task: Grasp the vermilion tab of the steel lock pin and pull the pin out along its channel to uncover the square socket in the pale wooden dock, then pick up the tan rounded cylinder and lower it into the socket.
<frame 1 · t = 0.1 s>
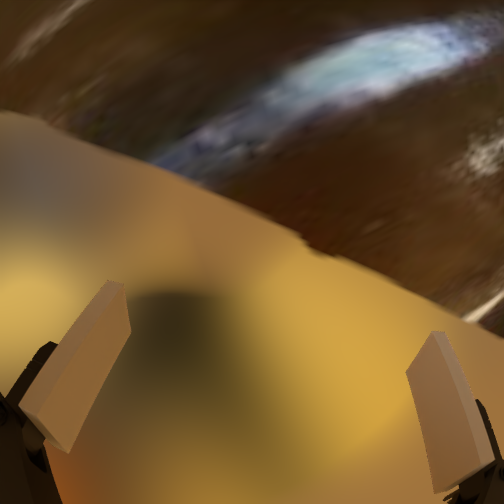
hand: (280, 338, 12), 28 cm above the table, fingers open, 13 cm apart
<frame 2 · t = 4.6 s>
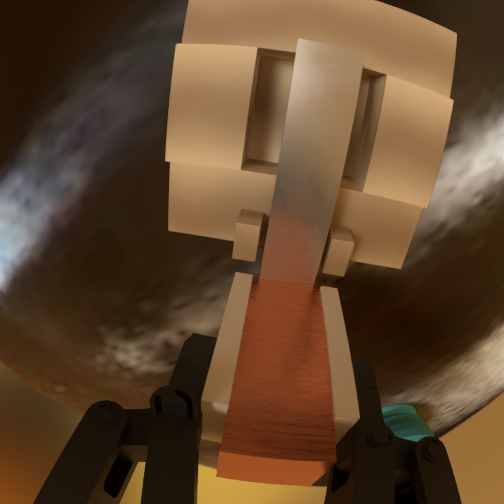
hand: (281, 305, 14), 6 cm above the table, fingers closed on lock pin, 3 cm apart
lock pin: (310, 239, 9), point 9 cm above the table, slide at 0.0 cm, touching gripper
dock: (308, 115, 15), on the table
perfume bottle: (388, 418, 27), on the table
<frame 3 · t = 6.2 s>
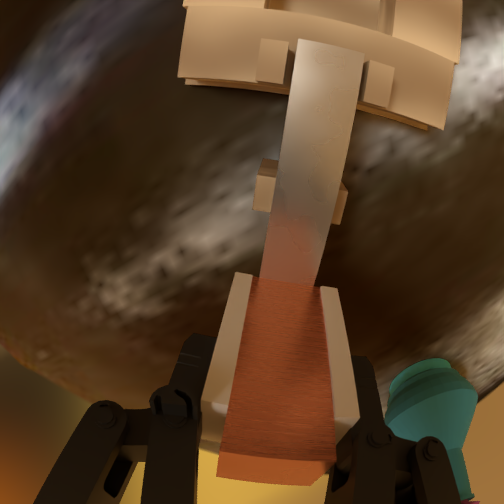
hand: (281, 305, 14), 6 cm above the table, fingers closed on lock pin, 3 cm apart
lock pin: (310, 238, 9), point 9 cm above the table, slide at 7.4 cm, touching dock, gripper
perfume bottle: (420, 379, 24), on the table
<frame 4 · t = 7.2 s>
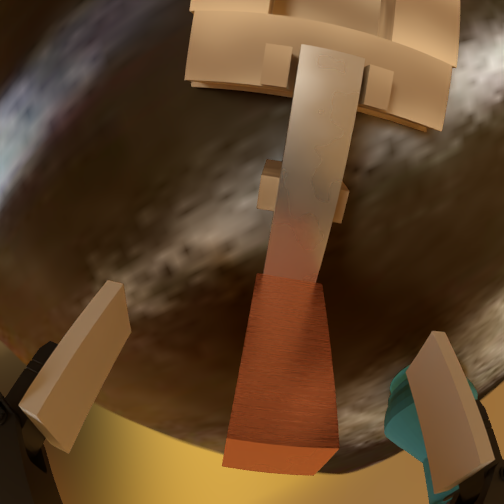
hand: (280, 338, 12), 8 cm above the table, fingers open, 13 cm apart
lock pin: (313, 235, 9), point 9 cm above the table, slide at 7.4 cm, touching dock
perfume bottle: (420, 377, 24), on the table
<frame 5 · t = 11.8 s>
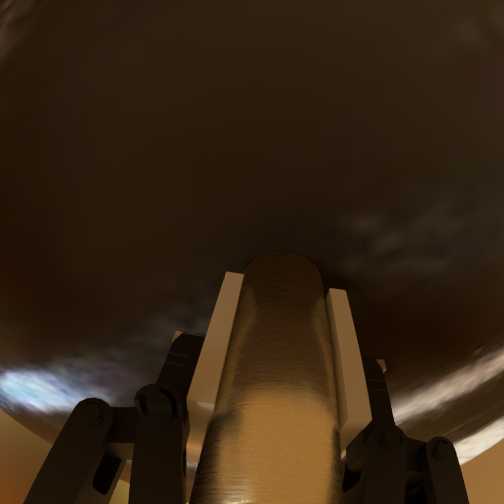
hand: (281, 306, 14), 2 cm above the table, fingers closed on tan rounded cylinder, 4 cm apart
tan rounded cylinder: (281, 285, 15), on the table, touching gripper
dock: (266, 405, 20), on the table
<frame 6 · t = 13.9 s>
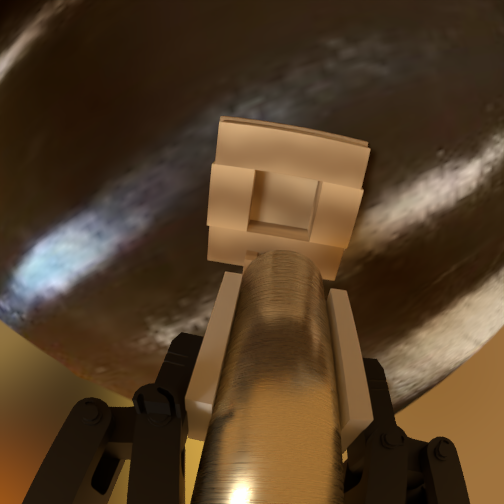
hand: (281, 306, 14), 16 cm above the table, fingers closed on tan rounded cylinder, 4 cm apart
tan rounded cylinder: (282, 285, 15), point 15 cm above the table, touching gripper
dock: (283, 194, 28), on the table
when the fingers open (4 cm above the table, at t = 16.3 s): tan rounded cylinder stays where it is, resting on dock.
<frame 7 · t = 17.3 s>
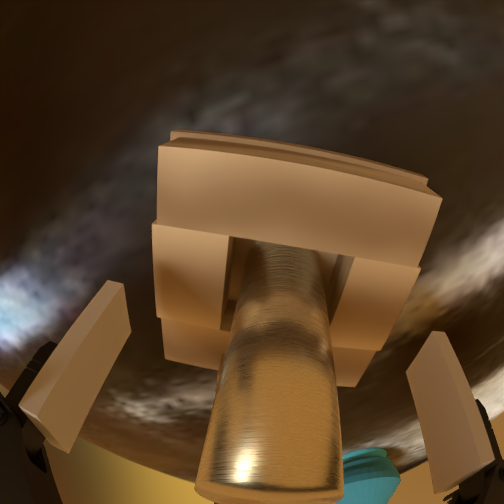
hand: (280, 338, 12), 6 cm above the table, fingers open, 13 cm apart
tan rounded cylinder: (282, 268, 16), point 1 cm above the table, touching dock
lock pin: (243, 474, 15), point 9 cm above the table, slide at 7.4 cm, touching dock
dock: (283, 260, 17), on the table
perfume bottle: (361, 456, 30), on the table
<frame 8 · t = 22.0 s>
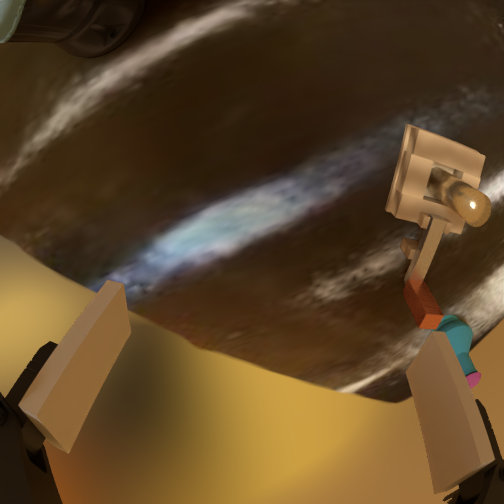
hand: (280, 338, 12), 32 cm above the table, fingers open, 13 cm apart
tan rounded cylinder: (435, 180, 37), point 1 cm above the table, touching dock
lock pin: (433, 270, 35), point 9 cm above the table, slide at 7.4 cm, touching dock
dock: (433, 178, 37), on the table
perfume bottle: (444, 327, 50), on the table
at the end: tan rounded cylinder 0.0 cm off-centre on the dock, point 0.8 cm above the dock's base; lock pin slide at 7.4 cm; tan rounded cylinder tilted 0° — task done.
